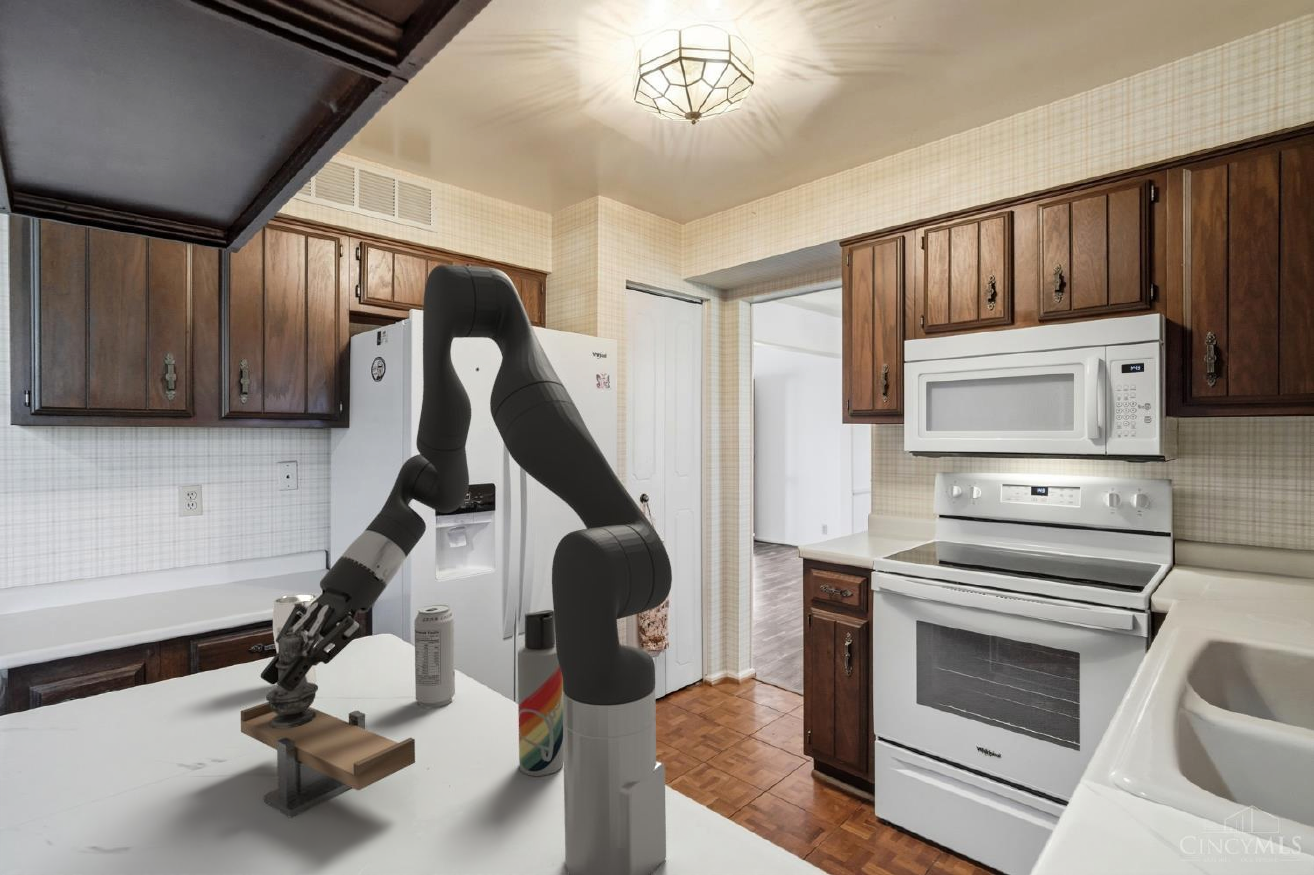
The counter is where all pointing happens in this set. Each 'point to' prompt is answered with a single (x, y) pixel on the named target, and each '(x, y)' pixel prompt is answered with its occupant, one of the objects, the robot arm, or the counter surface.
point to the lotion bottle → (540, 698)
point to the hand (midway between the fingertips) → (275, 683)
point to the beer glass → (281, 615)
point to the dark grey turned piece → (297, 701)
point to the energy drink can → (434, 656)
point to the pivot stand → (303, 779)
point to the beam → (333, 746)
